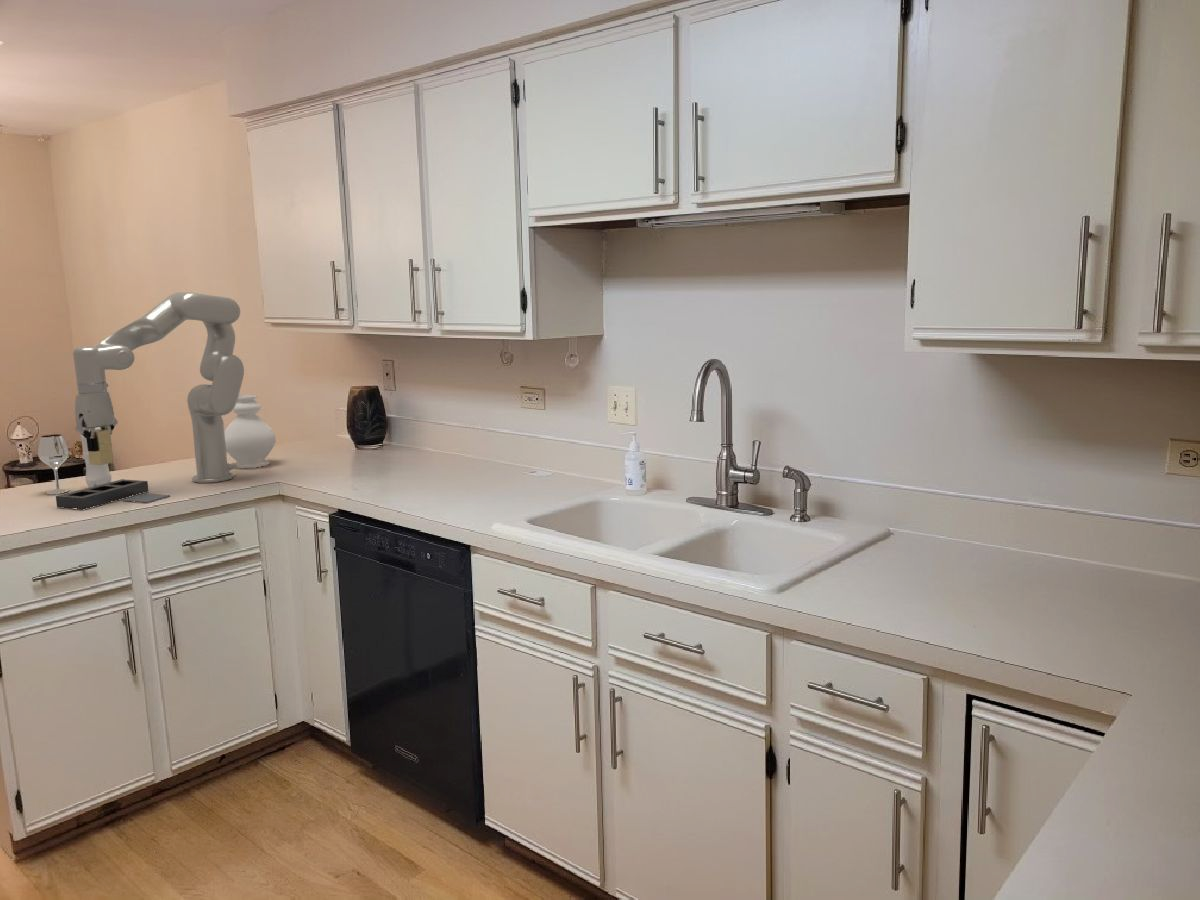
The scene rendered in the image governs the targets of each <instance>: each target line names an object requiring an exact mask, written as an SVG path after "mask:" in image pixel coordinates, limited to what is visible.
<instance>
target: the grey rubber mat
mask: <svg viewBox="0 0 1200 900" xmlns="http://www.w3.org/2000/svg"><path fill="white" fill-rule="evenodd" d="M170 495H171V494H162V493H160V494H159V493H149V492H147V493H143V494H140V495H136V496H133V497H129V498H125V499H122V502H123V501H135V502H144V503H143V504H149V503H148V502H150V503H152V502H151V501H154V502H156V501H155V500H157V501H160V500H163V499H162V498H164V499H167V498H170V497H171V496H170ZM166 497H167V498H166ZM159 499H160V500H159ZM135 502H134V503H135Z"/></svg>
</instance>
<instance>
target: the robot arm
mask: <svg viewBox="0 0 1200 900" xmlns="http://www.w3.org/2000/svg"><path fill="white" fill-rule="evenodd" d="M240 316H241V308H240V305H239V304H238V303H237V302H236V301H235V300H234V299H232V298H230V297H226V296H225V297H224V296H217V295H212V294H211V295H209V294H204V293H203V294H202V293H198V292H197V293H196V292H174V293H172V294H170V295H169V296H167V297H166V298H165V299H163V300H162V301H161V302H159V303H158V304H157V305H155V306H154V307H153V308H152V309H149V311H148V312H147V313H145V314H144V315H142V316H141V317H139V318H138V319H136V320H134V321H132V322H131V323H129V324H127V325H125V326H122V327H121V328H120V329H117V330H116V331H115V332H113V333H111V334H110V335H109V336H107V337H106V338H105V339H103V340H102V341H101V342H100V343H98V344H97V345H96V346H80V347H76V348H74V349H73V352H72V357H73V363H74V371H75V377H76V386H77V394H76V395H75V401H74V402H75V403H74V415H75V423H76V426H75V428H74V429H75V431H76V432H77V433H79V434H80V435H81V434H82V435H83V436H84V438H86V440H87V448H88V451H93V452H96V451H98V448H97V440H96V438H94V435H95V428H97V427H100V429H107V430H110V437H112V435H113V431H114V429H115V427H116V426H117V424H118V422H119V421H118V420H117V419H116V417H115V412H114V405H113V402H112V399H111V396H110V392H109V391H108V387H109V384H108V382H107V378H106V370H116V371H123V370H127V369H129V368H131V366H132V365H133V363H134V362H135V353H134V351H135V350H137V348H140V347H143V346H146V345H149V344H153V343H156V342H159V341H161V340H162V339H163V340H164V338H165V337H166V336H167V335H169V334H170V333H172V332H173V331H174V330H175V329H176V328H178V327H179V326H180V325H181V324H183V323H184V322H185V321H193V320H194V321H200V322H202V323H203V325H204V326H205V328H206V331H207V332H206V333H207V336H206V337H207V339H206V343H205V346H204V347H205V348H204V351H203V354H202V357H201V358H202V359H201V362H200V365H199V374H200V375H201V377H202V378H203V379H204V380H207V381H209V382H212V384H198V385H195V386H194V387H192V388H191V389H190V390H189V392H188V395H187V397H186V398H187V400H186V401H187V408H188V411H189V415H190V418H191V424H192V434H193V437H192V438H193V445H194V446H193V447H194V457H195V458H194V459H195V467H196V469H195V470H196V474H195V475H193V476H192V477H191V480H192V482H193V483H199V484H201V483H202V484H207V483H208V484H209V483H220V481H221V482H226V481H229V479H230V480H232V479H233V478H234V473H232V472H231V471H232V470H235V469H237V468H236V467H237V465H236V464H235V463H236V462H233V463H229V462H228V457H227V454H228V453H227V451H226V443H225V430H226V429H225V424H224V420H223V416H226V415H229V414H230V413H231V412H233V409H234V407H235V405H236V402H237V399H238V396H240V392H241V388H242V384H243V380H244V375H245V367H244V364H243V360H241V358H240V357H239V356H237V355H236V354H234V349H235V346H236V345H235V344H236V334H235V333H236V332H235V330H234V327H233V325H232V324H233V323H234V324H235V322H236V321H238V320H239V318H240ZM83 428H84V429H83ZM89 430H90V433H89ZM111 445H113V444H112V443H111Z"/></svg>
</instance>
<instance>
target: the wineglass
mask: <svg viewBox="0 0 1200 900" xmlns="http://www.w3.org/2000/svg"><path fill="white" fill-rule="evenodd" d="M37 455H38V458H39V460H40V461H41V462H42V463H44V464H45V465H46V466H48V467H50V468H51V469H52V470H53V473H54V481H55V489H53V490H50V491H47V492H46V493H45V494H46V495H48V494H56V495H61V494H60V493H62V492H63V493H64V492H65V491H66V490H67V489H61V488H60V483H59V475H58V474H59V473H58V469H59V468H60V467H61V466H62V464H64V463H65V462H66V461H67V459H68V458H69V455H70V452H69V447H68V445H67V442H66V440H65V438H64V435H63V434H56V433H55V434H46V435H40V438H39V443H38V450H37ZM66 492H67V491H66ZM64 494H65V493H64Z"/></svg>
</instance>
